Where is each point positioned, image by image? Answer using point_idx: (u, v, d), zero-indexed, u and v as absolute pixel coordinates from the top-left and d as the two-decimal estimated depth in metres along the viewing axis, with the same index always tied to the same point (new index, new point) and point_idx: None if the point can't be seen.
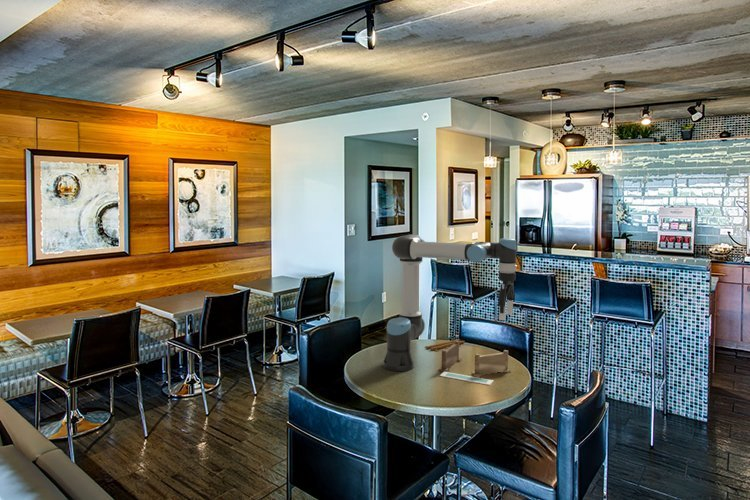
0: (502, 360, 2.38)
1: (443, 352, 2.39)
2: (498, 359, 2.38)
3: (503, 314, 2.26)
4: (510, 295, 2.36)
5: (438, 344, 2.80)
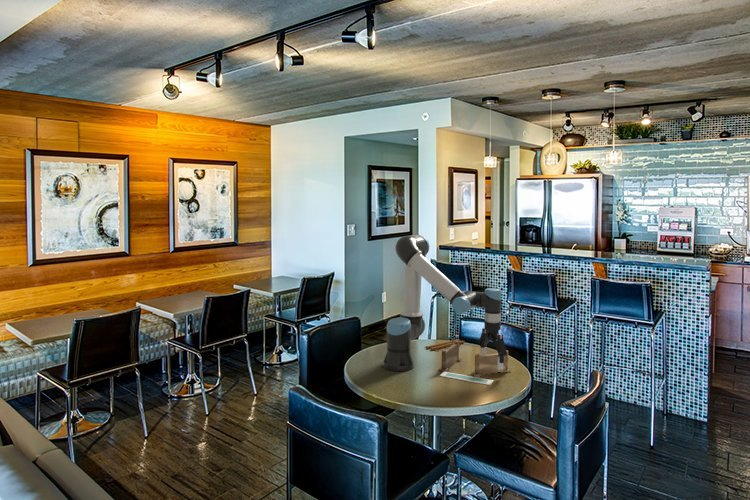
0: None
1: (443, 352, 2.39)
2: None
3: None
4: None
5: (438, 344, 2.80)
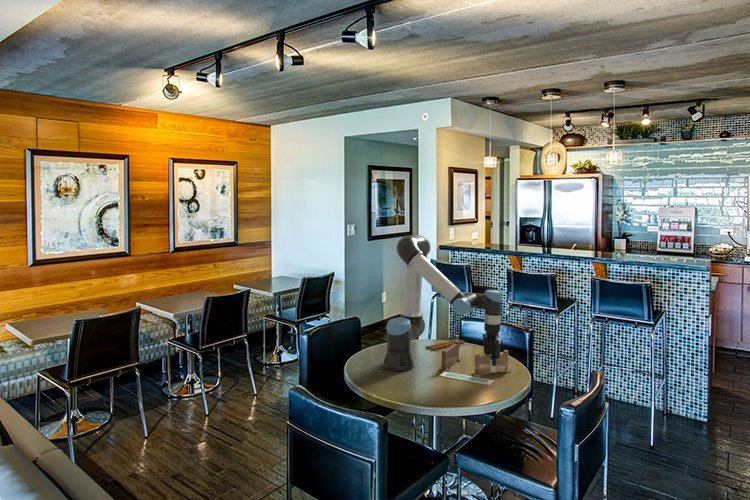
0: (502, 360, 2.38)
1: (443, 352, 2.39)
2: (498, 359, 2.38)
3: None
4: None
5: (438, 344, 2.80)
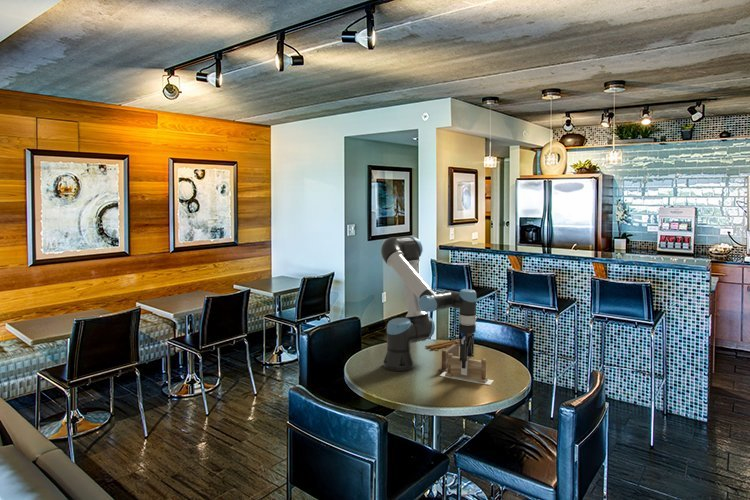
0: None
1: (443, 352, 2.39)
2: None
3: (465, 369, 2.26)
4: (469, 349, 2.31)
5: (438, 344, 2.81)
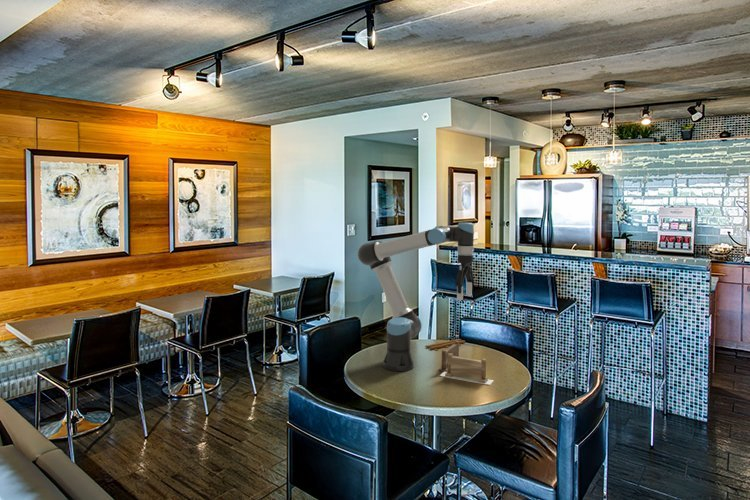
0: None
1: (443, 352, 2.39)
2: None
3: (461, 294, 2.37)
4: (469, 277, 2.47)
5: (438, 343, 2.81)
